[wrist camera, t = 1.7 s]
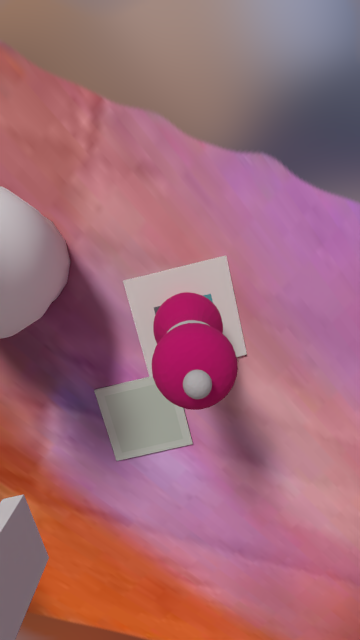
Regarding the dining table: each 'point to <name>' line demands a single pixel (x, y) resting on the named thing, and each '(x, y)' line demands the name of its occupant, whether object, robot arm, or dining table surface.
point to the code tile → (193, 278)
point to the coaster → (141, 419)
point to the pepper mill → (192, 352)
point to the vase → (28, 264)
